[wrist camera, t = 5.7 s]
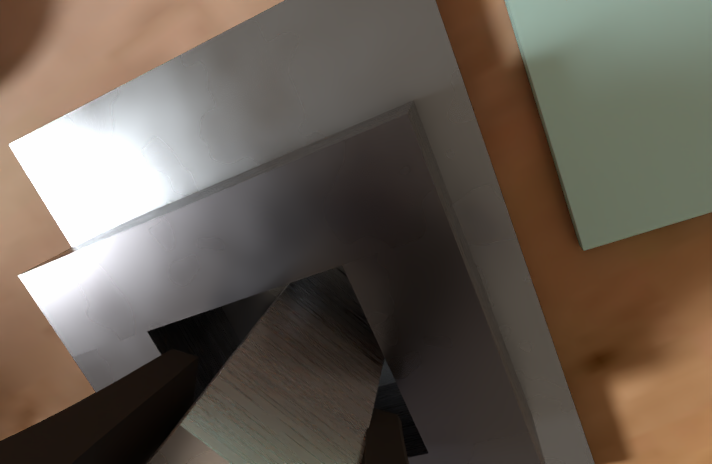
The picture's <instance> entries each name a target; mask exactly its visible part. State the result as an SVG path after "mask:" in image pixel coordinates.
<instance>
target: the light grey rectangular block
mask: <svg viewBox="0 0 712 464" xmlns="http://www.w3.org/2000/svg"><path fill="white" fill-rule="evenodd" d="M384 358H385V357H384V355H383V353H382V351H381V349H380V347H379V344H378V342H377V340H376V338H375V336H374V333H373V331H372V329H371V327H370V325H369V323H368V320H367V318H366V316H365V314H364V312H363V309H362V307H361V305H360V303H359V301H358V299H357V296H356V294H355V292H354V290H353V288H352V286H351V283H350V281H349V279H348V277H346V276H345V275H344V274H343V273H341V272H340V271H339V270H338V269H336V268H333V269H330V270H327V271H324V272H321V273H318V274H315V275H312V276H309V277H306V278H303V279H300V280H297V281H294V282H291V283H289V284H288V285H287V286H286V287H285V288H284V290H283V291H282V292H281V293H280V295H279V296H278V297H277V298H276V300H275V301H274V302H273V303H272V304H271V306H270V307H269V308H268V309H267V311H266V312H265V313H264V314H263V316H262V317H261V318H260V319H259V321H258V322H257V323H256V324H255V326H254V327H253V328H252V329H251V331H250V332H249V333H248V335H247V336H246V337H245V338H244V340H243V341H242V342H241V343H240V345H239V346H238V347H237V348H236V350H235V351H234V352H233V354H232V355H231V356H230V357H229V359H228V360H227V361H226V362H225V364H224V365H223V366H222V368H221V369H220V370H219V371H218V373H217V374H216V375H215V376H214V378H213V379H212V380H211V382H210V383H209V384H208V385H207V387H206V388H205V389H204V390H203V392H202V393H201V394H200V396H199V397H198V398H197V399H196V401H195V402H194V403H193V404H192V406H191V407H190V408H189V410H188V411H187V412H186V413H185V415H184V416H183V417H182V418H181V420H180V421H179V422H178V424H177V425H176V426H175V427H174V429H173V430H172V431H171V432H170V434H169V435H168V436H167V438H166V439H165V440H164V441H163V443H162V444H161V445H160V446H159V448H158V449H157V450H156V452H155V453H154V454H153V455H152V457H151V458H150V459H149V460H148V462H147V463H146V464H361V462H362V457H363V453H364V448H365V439H366V430H367V428H369V426H370V421H371V417H372V412H373V408H374V403H375V399H376V394H377V390H378V385H379V381H380V376H381V372H382V367H383V363H384Z"/></svg>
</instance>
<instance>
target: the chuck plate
mask: <svg viewBox="0 0 712 464" xmlns="http://www.w3.org/2000/svg"><path fill="white" fill-rule="evenodd" d="M8 145H9V146H10V148H11V149H12V151H13V153H14V154H15V156H16V157H17V159H18V161H19V162H20V164H21V165H22V167H23V169H24V170H25V172H26V173H27V175H28V177H29V178H30V180H31V182H32V183H33V185H34V186H35V188H36V190H37V191H38V193H39V194H40V196H41V198H42V199H43V201H44V202H45V204H46V206H47V207H48V209H49V211H50V212H51V214H52V215H53V217H54V219H55V220H56V222H57V223H58V225H59V227H60V228H61V230H62V231H63V233H64V235H65V236H66V238H67V239H68V241H69V243H70V244H71V246H72V248H70V249H68V250H66V251H64V252H62V253H60V254H59V255H57V256H55V257H53V258H51V259H49V260H47V261H45V262H43V263H41V264H39V265H37V266H35V267H34V268H32V269H30V270H28V271H26V272H24V273H22V274H20V275H18V276H19V278H20V279H21V281H22V282H23V284H24V285H25V287H26V288H27V290H28V291H29V293H30V294H31V296H32V297H33V299H34V300H35V302H36V303H37V305H38V306H39V308H40V309H41V311H42V312H43V314H44V315H45V317H46V318H47V320H48V321H49V323H50V324H51V326H52V327H53V329H54V330H55V332H56V333H57V335H58V336H59V338H60V339H61V341H62V342H63V344H64V345H65V347H66V348H67V350H68V351H69V353H70V354H71V356H72V357H73V359H74V360H75V362H76V363H77V365H78V366H79V368H80V369H81V371H82V372H83V374H84V375H85V377H86V378H87V380H88V381H89V383H90V384H91V386H92V387H93V389H94V390H95V392H98V391H99V390H101V389H103V388H105V387H107V386H108V385H110V384H112V383H114V382H115V381H117V380H119V379H121V378H122V377H124V376H126V375H128V374H129V373H131V372H133V371H134V370H136V369H138V368H140V367H141V366H143V365H145V364H146V363H148V362H150V361H152V360H153V359H155V358H157V357H159V356H160V355H162V354H164V353H166V352H168V351H169V350H171V349H174V350H177V351H181V352H184V353H187V354H191V355H194V356H198V357H199V359H198V367H197V375H196V383H195V391H194V400H193V403H194V402H195V401H196V399H197V398H198V397H199V396H200V394H201V393H202V392H203V390H204V389H205V388H206V387H207V385H208V384H209V383H210V382H211V380H212V379H213V378H214V376H215V375H216V374H217V373H218V371H219V370H220V369H221V368H222V366H223V365H224V364H225V362H226V361H227V360H228V359H229V357H230V356H231V355H232V354H233V352H234V351H235V350H236V348H237V347H238V346H239V345H240V343H241V342H242V341H243V340H244V338H245V337H246V336H247V335H248V333H249V332H250V331H251V329H252V328H253V327H254V326H255V324H256V323H257V322H258V321H259V319H260V318H261V317H262V316H263V314H264V313H265V312H266V311H267V309H268V308H269V307H270V306H271V304H272V303H273V302H274V301H275V300H276V298H277V297H278V296H279V295H280V293H281V292H282V291H283V290H284V288H285V287H286V286H287V285H288V284H289V283H291V282H294V281H297V280H300V279H303V278H306V277H309V276H312V275H315V274H318V273H321V272H324V271H327V270H330V269H333V268H336V269H338V270H339V271H340V272H341V273H343V274H344V275H345V276H346V277H348V279H349V281H350V283H351V286H352V288H353V290H354V292H355V294H356V296H357V299H358V301H359V303H360V305H361V307H362V309H363V312H364V314H365V316H366V318H367V320H368V323H369V325H370V327H371V329H372V331H373V333H374V336H375V338H376V340H377V342H378V344H379V347H380V349H381V351H382V353H383V355H384V357H385V358H384V363H383V367H382V372H381V376H380V381H379V385H378V390H377V394H376V399H375V403H374V408H376V409H379V410H382V411H386V412H389V413H393V414H396V415H398V416H399V418H400V419H401V422H402V430H403V436H404V442H405V447H406V452H407V457H408V461H409V464H595V463H594V460H593V457H592V454H591V452H590V449H589V446H588V443H587V440H586V437H585V434H584V431H583V428H582V425H581V422H580V420H579V417H578V414H577V411H576V408H575V405H574V402H573V399H572V396H571V393H570V390H569V388H568V385H567V382H566V379H565V376H564V373H563V370H562V367H561V364H560V361H559V358H558V356H557V353H556V350H555V347H554V344H553V341H552V338H551V335H550V332H549V329H548V326H547V324H546V321H545V318H544V315H543V312H542V309H541V306H540V303H539V300H538V297H537V294H536V292H535V289H534V286H533V283H532V280H531V277H530V274H529V271H528V268H527V265H526V262H525V260H524V257H523V254H522V251H521V248H520V245H519V242H518V239H517V236H516V233H515V230H514V228H513V225H512V222H511V219H510V216H509V213H508V210H507V207H506V204H505V201H504V198H503V195H502V193H501V190H500V187H499V184H498V181H497V178H496V175H495V172H494V169H493V166H492V163H491V161H490V158H489V155H488V152H487V149H486V146H485V143H484V140H483V137H482V134H481V131H480V129H479V126H478V123H477V120H476V117H475V114H474V111H473V108H472V105H471V102H470V99H469V97H468V94H467V91H466V88H465V85H464V82H463V79H462V76H461V73H460V70H459V67H458V65H457V62H456V59H455V56H454V53H453V50H452V47H451V44H450V41H449V38H448V35H447V33H446V30H445V27H444V24H443V21H442V18H441V15H440V12H439V9H438V6H437V3H436V1H435V0H285V1H283V2H281V3H279V4H277V5H275V6H273V7H271V8H270V9H268V10H266V11H264V12H262V13H260V14H258V15H256V16H254V17H252V18H250V19H248V20H246V21H245V22H243V23H241V24H239V25H237V26H235V27H233V28H231V29H229V30H227V31H225V32H223V33H222V34H220V35H218V36H216V37H214V38H212V39H210V40H208V41H206V42H204V43H202V44H200V45H198V46H197V47H195V48H193V49H191V50H189V51H187V52H185V53H183V54H181V55H179V56H177V57H175V58H174V59H172V60H170V61H168V62H166V63H164V64H162V65H160V66H158V67H156V68H154V69H152V70H150V71H149V72H147V73H145V74H143V75H141V76H139V77H137V78H135V79H133V80H131V81H129V82H127V83H126V84H124V85H122V86H120V87H118V88H116V89H114V90H112V91H110V92H108V93H106V94H104V95H102V96H101V97H99V98H97V99H95V100H93V101H91V102H89V103H87V104H85V105H83V106H81V107H79V108H78V109H76V110H74V111H72V112H70V113H68V114H66V115H64V116H62V117H60V118H58V119H56V120H54V121H53V122H51V123H49V124H47V125H45V126H43V127H41V128H39V129H37V130H35V131H33V132H31V133H30V134H28V135H26V136H24V137H22V138H20V139H18V140H16V141H14V142H12V143H10V144H8Z"/></svg>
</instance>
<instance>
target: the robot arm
mask: <svg viewBox="0 0 712 464" xmlns="http://www.w3.org/2000/svg"><path fill="white" fill-rule="evenodd" d="M198 359H199V357H198V356H194V355H191V354H187V353H184V352H181V351H177V350H174V349H171V350H169V351H168V352H166V353H164V354H162V355H160V356H159V357H157V358H155V359H153V360H152V361H150V362H148V363H146V364H145V365H143V366H141V367H140V368H138V369H136V370H134V371H133V372H131V373H129V374H128V375H126V376H124V377H122V378H121V379H119V380H117V381H115V382H114V383H112V384H110V385H108V386H107V387H105V388H103V389H101V390H99V391H98V392H96V393H94V394H92V395H90V396H89V397H87V398H85V399H83V400H81V401H80V402H78V403H76V404H74V405H72V406H70V407H68V408H67V409H65V410H63V411H61V412H59V413H57V414H55V415H53V416H51V417H49V418H47V419H45V420H43V421H41V422H39V423H37V424H35V425H33V426H31V427H29V428H27V429H25V430H23V431H21V432H19V433H17V434H15V435H13V436H10V437H8V438H6V439H4V440H2V441H0V464H146V463H147V462H148V460H149V459H150V458H151V457H152V455H153V454H154V453H155V452H156V450H157V449H158V448H159V446H160V445H161V444H162V443H163V441H164V440H165V439H166V438H167V436H168V435H169V434H170V432H171V431H172V430H173V429H174V427H175V426H176V425H177V424H178V422H179V421H180V420H181V418H182V417H183V416H184V415H185V413H186V412H187V411H188V410H189V408H190V407H191V406H192V404H193V400H194V391H195V383H196V375H197V367H198ZM361 464H409V461H408V457H407V452H406V447H405V442H404V436H403V430H402V422H401V419H400V418H399V416H398V415H396V414H393V413H389V412H386V411H382V410H379V409H376V408H373V412H372V417H371V421H370V426H369V428H367V430H366V439H365V448H364V453H363V457H362V462H361Z"/></svg>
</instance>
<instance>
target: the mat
mask: <svg viewBox="0 0 712 464" xmlns="http://www.w3.org/2000/svg"><path fill="white" fill-rule="evenodd" d="M504 1H505V4H506V7H507V10H508V14H509V17H510V20H511V23H512V27H513V30H514V33H515V36H516V40H517V43H518V46H519V50H520V53H521V56H522V59H523V63H524V66H525V69H526V72H527V76H528V79H529V82H530V85H531V89H532V92H533V95H534V98H535V102H536V105H537V108H538V112H539V115H540V118H541V121H542V125H543V128H544V131H545V134H546V138H547V141H548V144H549V147H550V151H551V154H552V157H553V160H554V164H555V167H556V170H557V173H558V177H559V180H560V183H561V187H562V190H563V193H564V196H565V200H566V203H567V206H568V209H569V213H570V216H571V219H572V222H573V226H574V229H575V232H576V235H577V239H578V242H579V245H580V247H581V248H582V249H583V250H584V251H585V250H588V249H592V248H595V247H598V246H602V245H605V244H608V243H611V242H615V241H618V240H621V239H625V238H628V237H631V236H635V235H638V234H641V233H644V232H648V231H651V230H654V229H658V228H661V227H664V226H668V225H671V224H674V223H677V222H681V221H684V220H687V219H691V218H694V217H697V216H701V215H704V214H707V213H710V212H712V0H504Z"/></svg>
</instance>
